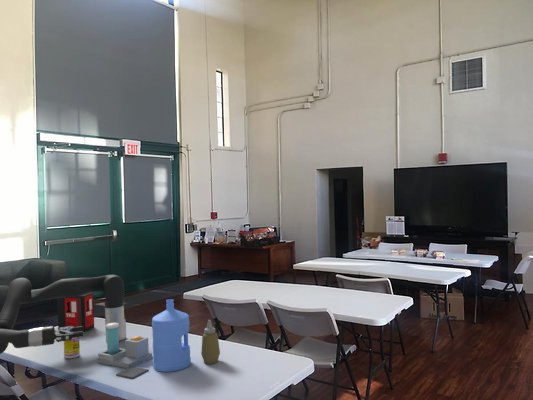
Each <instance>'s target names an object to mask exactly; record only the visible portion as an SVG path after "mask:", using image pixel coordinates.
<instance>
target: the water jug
mask: <svg viewBox="0 0 533 400" xmlns="http://www.w3.org/2000/svg"><path fill="white" fill-rule="evenodd" d="M165 301H166V305H165V306H166V309H165V310H163V311H162V312H160V313H158V314H156V315H154V316H153V317H152V319H151V320H152V321H151V328H152V331H151V332H152V350H153V351H152V352H153V353H152V358H153V359H152V365H153V368H154V369H155V370H156V371H158V372H162V373H171V372H172V373H173V372H178V371H181V370H184V369H186V368H187V367H189V366H190V364H191V362H192V360H191V359H192V357H191V347H190V345H189V334H188V333H189V332H190V316H189V314H188V313H186V312H183V311H181V310H178V309H175V303H174V301H175V300H174V299H172V298H171V299H166V300H165ZM182 337H183V339H182ZM182 341H183V343H182Z"/></svg>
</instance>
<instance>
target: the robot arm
mask: <svg viewBox="0 0 533 400" xmlns="http://www.w3.org/2000/svg"><path fill="white" fill-rule="evenodd" d="M98 292H105V301H104V320H105V322H104V323H105V341H106V342H107V328H106V324H109V323H119V327H118V341H119V342H120V341H123V340H125V339H126V338H127V323H126V322H127V321H126V318H125V312H124V311H125V306H124V302H125V282H124V280H123V278H122V277H121V276H119V275H116V274H106V275H102V276H97V277H72V278H69V277H68V278H61V279H59V280H56V281H54V282H51V284H49V285H47V286H45V287H43V288H38V289H32V282H31V281H30V280H29V279H28V278H26V277H18V278H15V279H13V280H12V281H10V283H9V285H8V292H7V296H6V298H5V301H4V304H3V306H2V309H1V310H0V355H2V354H3V353H4V352H5V351H6V350H7V348H8V346H9V344H12V346H13V347H14V348H15V349H24V348H32V347H34V348H35V347H43V346H49V345H54V344H55V341H56V343H57V342H64V341H67V340H72V339H73V338H76V337H79V338H81V337H82V338H83V337H84V332H83V331H84V327H83V326H80V327H73V326H67V327H59V328H58V327H57V329H56V330H55V326H54V325H50V326H40V327H33V328H30V329H21V330H15V329H13V328H14V326H15V324H16V321H17V318H18V315H19V311H20V307H21V305H23V304H24V305H26V304H31V303H35V302H40V301H46V300H55V299H56V300H57V298H68V297H76V296H81V295H84V294H87V293H98Z"/></svg>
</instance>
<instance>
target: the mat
mask: <svg viewBox="0 0 533 400" xmlns="http://www.w3.org/2000/svg"><path fill="white" fill-rule="evenodd" d="M147 372H149V369H147V368H144V367H143V368H142V367H139V366H132V367H130V368H125V369H124V370H122V371H120V372H117V373H115V376H117V377H122V378H126V379H129V380H134V379H135V378H137V377H139V376H141V375H143V374H146V373H147Z"/></svg>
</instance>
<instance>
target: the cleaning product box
mask: <svg viewBox="0 0 533 400" xmlns="http://www.w3.org/2000/svg"><path fill="white" fill-rule="evenodd" d="M56 300H57V302H56V305H57V329H58V328H59V327H67V326H73V327H80V326H83V327H84V331H83V333H87V332H89V331H91V330H93V329H95V311H94V310H95V308H94V306H95V305H94V292H91V293H87V294H84V295H81V296H76V297H68V298H56Z"/></svg>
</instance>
